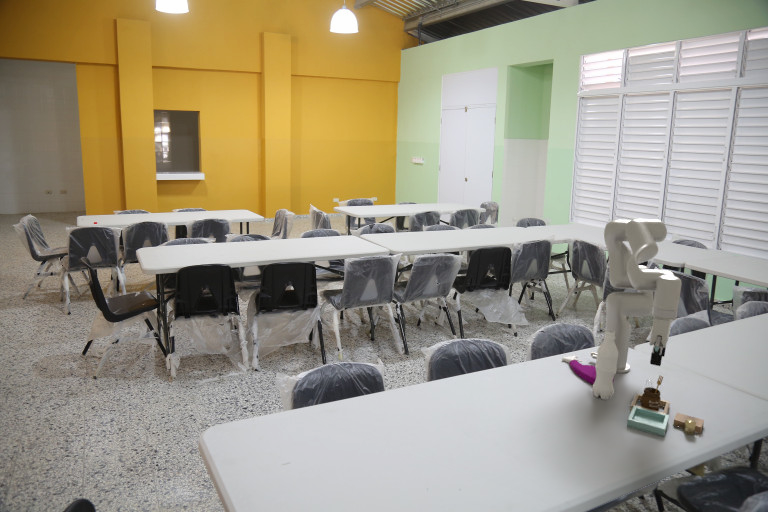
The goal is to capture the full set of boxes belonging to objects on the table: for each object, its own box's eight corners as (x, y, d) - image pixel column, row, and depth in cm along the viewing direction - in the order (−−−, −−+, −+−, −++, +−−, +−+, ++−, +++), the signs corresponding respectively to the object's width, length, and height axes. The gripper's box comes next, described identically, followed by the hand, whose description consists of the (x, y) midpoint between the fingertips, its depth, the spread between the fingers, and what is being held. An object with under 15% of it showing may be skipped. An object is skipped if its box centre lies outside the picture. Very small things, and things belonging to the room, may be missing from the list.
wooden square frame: (630, 410, 199) (631, 405, 199) (635, 398, 208) (636, 393, 208) (665, 419, 193) (666, 414, 193) (669, 406, 202) (670, 401, 202)
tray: (627, 426, 189) (628, 419, 188) (632, 412, 198) (633, 405, 197) (663, 436, 183) (664, 429, 182) (668, 422, 192) (669, 415, 191)
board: (672, 426, 190) (674, 419, 190) (676, 419, 195) (677, 412, 194) (700, 434, 186) (701, 427, 185) (702, 426, 190) (703, 420, 190)
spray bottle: (591, 387, 217) (555, 361, 240) (616, 384, 220) (578, 359, 243) (592, 379, 216) (556, 355, 239) (617, 376, 219) (579, 352, 242)
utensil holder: (636, 406, 202) (641, 374, 200) (650, 403, 205) (655, 372, 202) (649, 414, 197) (654, 381, 194) (663, 411, 199) (668, 379, 196)
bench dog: (683, 433, 185) (685, 421, 184) (684, 429, 188) (686, 418, 187) (693, 436, 184) (695, 424, 183) (694, 432, 186) (696, 420, 185)
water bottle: (609, 392, 212) (618, 328, 206) (615, 401, 205) (624, 335, 199) (589, 391, 213) (597, 327, 207) (594, 400, 206) (602, 334, 200)
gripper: (655, 303, 202) (649, 349, 206) (648, 317, 187) (641, 366, 191) (679, 307, 198) (672, 354, 202) (673, 321, 183) (666, 371, 187)
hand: (657, 360), depth 196 cm, fingers open, 9 cm apart
